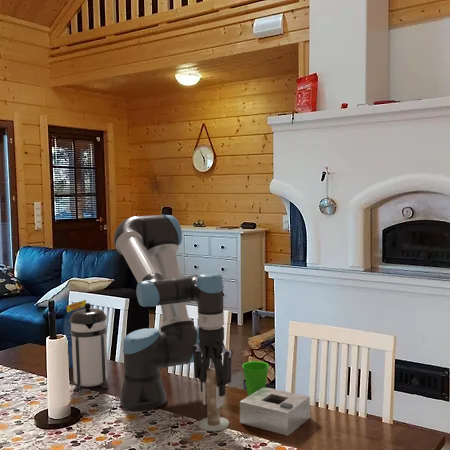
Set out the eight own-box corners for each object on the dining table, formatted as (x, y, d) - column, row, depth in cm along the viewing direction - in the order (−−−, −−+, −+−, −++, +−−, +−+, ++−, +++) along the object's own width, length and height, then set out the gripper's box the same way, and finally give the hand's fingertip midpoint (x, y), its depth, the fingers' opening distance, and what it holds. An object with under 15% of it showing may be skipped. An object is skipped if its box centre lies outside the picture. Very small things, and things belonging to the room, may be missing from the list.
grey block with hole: (240, 422, 164) (239, 399, 163) (264, 406, 175) (263, 384, 175) (288, 435, 155) (287, 411, 154) (310, 417, 166) (309, 394, 166)
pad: (192, 426, 162) (192, 425, 162) (210, 415, 170) (210, 414, 170) (217, 434, 157) (217, 432, 157) (235, 422, 164) (234, 420, 164)
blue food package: (63, 367, 219) (60, 305, 217) (82, 358, 230) (79, 299, 228) (75, 369, 217) (72, 306, 215) (94, 360, 228) (92, 300, 226)
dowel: (205, 423, 163) (204, 370, 162) (212, 419, 166) (211, 367, 164) (215, 426, 161) (214, 373, 160) (222, 422, 164) (221, 369, 162)
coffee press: (123, 381, 202) (119, 300, 199) (90, 396, 188) (86, 309, 186) (89, 373, 211) (85, 296, 209) (56, 387, 197) (52, 304, 195)
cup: (268, 403, 178) (267, 370, 177) (240, 402, 180) (239, 369, 179) (271, 393, 186) (270, 361, 186) (244, 392, 188) (244, 360, 188)
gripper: (180, 325, 163) (182, 402, 165) (228, 333, 153) (230, 415, 155) (195, 320, 169) (197, 394, 171) (242, 327, 159) (244, 406, 161)
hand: (213, 404), depth 163 cm, fingers open, 4 cm apart
